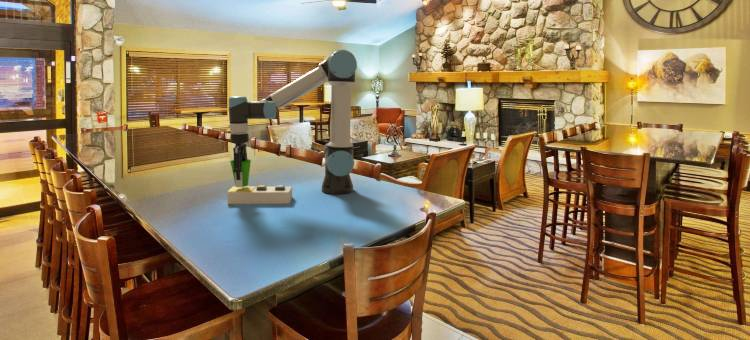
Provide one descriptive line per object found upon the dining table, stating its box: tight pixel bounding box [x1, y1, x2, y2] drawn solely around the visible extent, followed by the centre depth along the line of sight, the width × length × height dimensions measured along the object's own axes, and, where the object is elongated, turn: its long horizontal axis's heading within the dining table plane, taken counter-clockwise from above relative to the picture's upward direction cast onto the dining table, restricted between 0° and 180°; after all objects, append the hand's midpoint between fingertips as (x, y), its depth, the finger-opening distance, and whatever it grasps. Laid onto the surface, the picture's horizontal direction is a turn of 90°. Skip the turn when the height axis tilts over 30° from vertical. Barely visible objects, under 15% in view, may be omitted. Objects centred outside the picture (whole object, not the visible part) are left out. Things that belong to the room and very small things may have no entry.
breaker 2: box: [274, 184, 286, 191], centre depth 207 cm, size 4×4×6 cm
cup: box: [229, 158, 252, 187], centre depth 205 cm, size 9×9×11 cm
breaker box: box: [226, 185, 293, 205], centre depth 207 cm, size 26×11×5 cm, turn 93°
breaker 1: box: [256, 184, 267, 191], centre depth 207 cm, size 4×4×6 cm
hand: (241, 184), depth 206 cm, fingers closed on cup, 9 cm apart
